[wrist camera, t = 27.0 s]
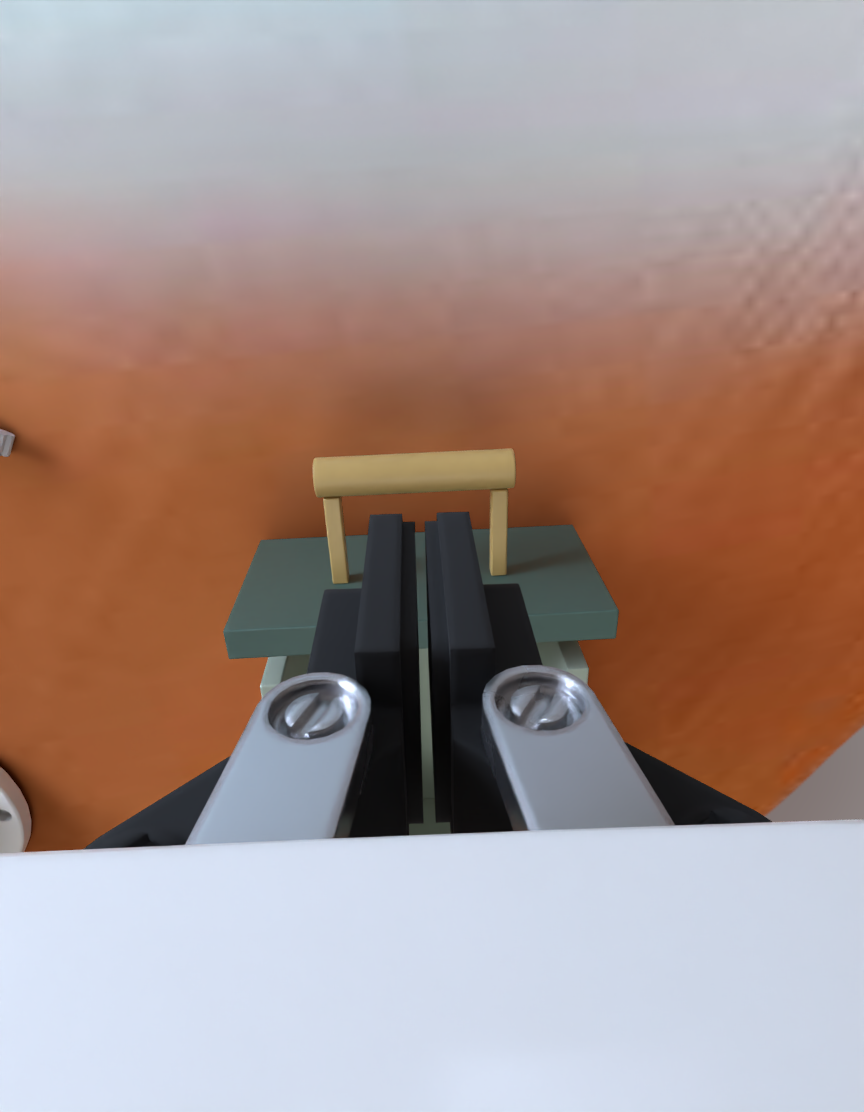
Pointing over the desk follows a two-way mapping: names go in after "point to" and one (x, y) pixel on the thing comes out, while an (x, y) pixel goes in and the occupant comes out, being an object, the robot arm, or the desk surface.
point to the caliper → (6, 442)
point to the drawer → (418, 575)
